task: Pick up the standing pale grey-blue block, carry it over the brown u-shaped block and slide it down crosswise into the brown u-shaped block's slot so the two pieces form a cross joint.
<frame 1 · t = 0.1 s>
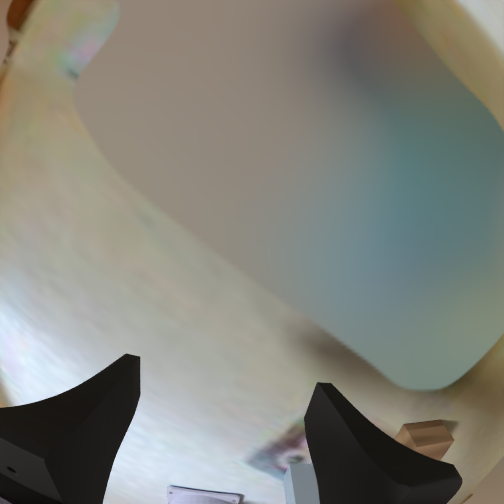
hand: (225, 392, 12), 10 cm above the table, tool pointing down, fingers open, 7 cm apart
pale grey-blue block: (327, 470, 27), on the table
brown u-shaped block: (396, 464, 27), on the table
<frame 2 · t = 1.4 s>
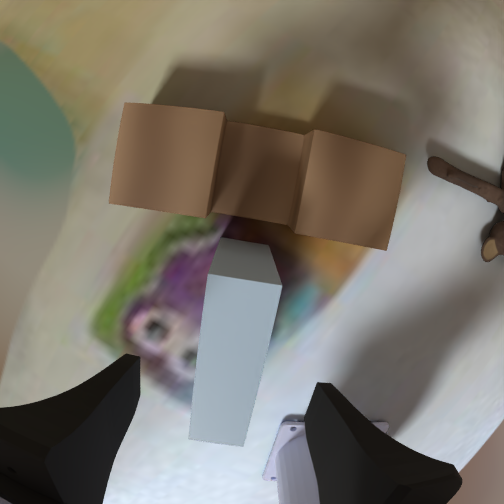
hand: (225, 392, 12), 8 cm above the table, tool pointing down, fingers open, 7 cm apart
pale grey-blue block: (232, 311, 20), on the table
brown u-shaped block: (257, 172, 18), on the table
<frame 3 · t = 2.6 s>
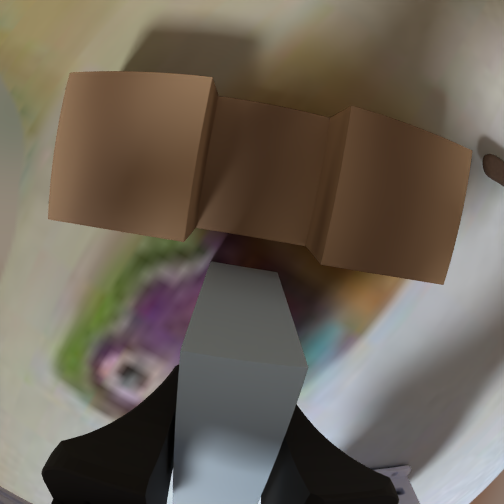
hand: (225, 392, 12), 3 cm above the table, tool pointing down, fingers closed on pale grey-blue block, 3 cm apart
pale grey-blue block: (228, 357, 14), on the table, touching gripper
brown u-shaped block: (261, 170, 12), on the table
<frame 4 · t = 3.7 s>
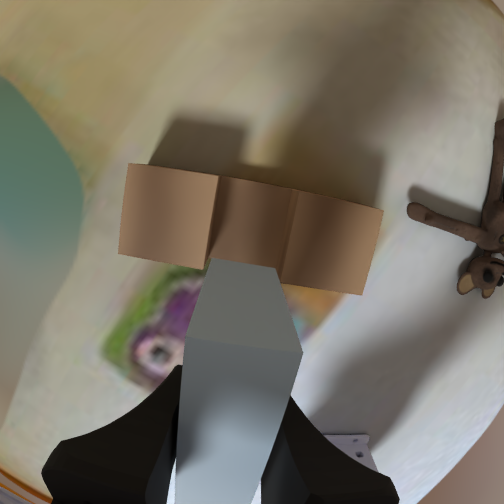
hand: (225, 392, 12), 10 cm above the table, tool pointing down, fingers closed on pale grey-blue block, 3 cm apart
pale grey-blue block: (228, 350, 15), point 6 cm above the table, touching gripper
brown monkey toy: (487, 207, 21), on the table
brown u-shaped block: (249, 221, 20), on the table
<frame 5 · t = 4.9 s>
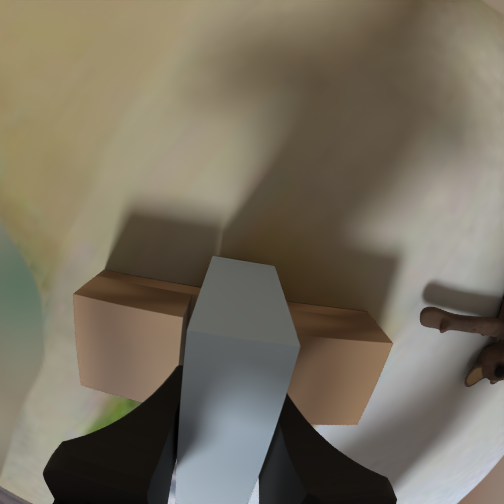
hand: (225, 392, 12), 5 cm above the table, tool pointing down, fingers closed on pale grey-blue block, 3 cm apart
pale grey-blue block: (228, 347, 15), point 1 cm above the table, touching gripper, brown u-shaped block
brown u-shaped block: (229, 337, 16), on the table
when the fingers open (5 cm above the table, at t = 5.1 s): pale grey-blue block stays where it is, resting on brown u-shaped block.
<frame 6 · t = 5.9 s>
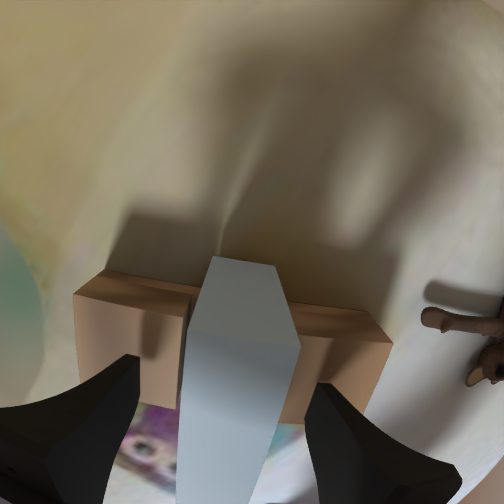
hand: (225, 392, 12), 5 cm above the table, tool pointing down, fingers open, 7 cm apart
pale grey-blue block: (228, 347, 15), point 1 cm above the table, touching brown u-shaped block
brown u-shaped block: (229, 337, 16), on the table
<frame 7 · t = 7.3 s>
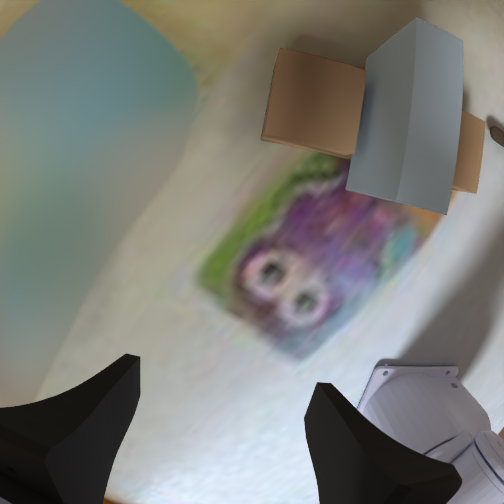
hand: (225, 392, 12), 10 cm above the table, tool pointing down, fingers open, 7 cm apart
pale grey-blue block: (377, 126, 18), point 1 cm above the table, touching brown u-shaped block
brown u-shaped block: (372, 127, 19), on the table
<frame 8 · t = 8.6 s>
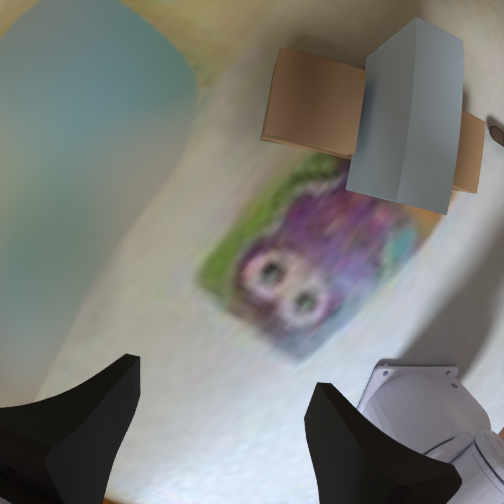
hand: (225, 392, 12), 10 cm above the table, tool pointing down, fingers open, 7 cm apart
pale grey-blue block: (377, 126, 18), point 1 cm above the table, touching brown u-shaped block
brown u-shaped block: (372, 127, 19), on the table
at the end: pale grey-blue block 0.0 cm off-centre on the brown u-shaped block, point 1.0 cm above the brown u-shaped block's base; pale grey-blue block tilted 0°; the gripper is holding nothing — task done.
